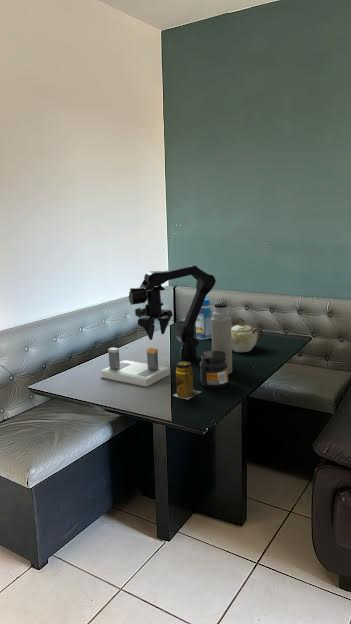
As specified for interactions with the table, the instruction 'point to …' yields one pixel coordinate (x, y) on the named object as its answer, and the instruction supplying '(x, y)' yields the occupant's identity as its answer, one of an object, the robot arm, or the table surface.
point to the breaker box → (135, 373)
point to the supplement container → (214, 369)
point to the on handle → (114, 358)
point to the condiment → (185, 381)
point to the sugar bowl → (244, 337)
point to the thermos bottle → (222, 332)
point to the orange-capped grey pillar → (152, 358)
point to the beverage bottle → (204, 321)
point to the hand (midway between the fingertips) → (156, 336)
